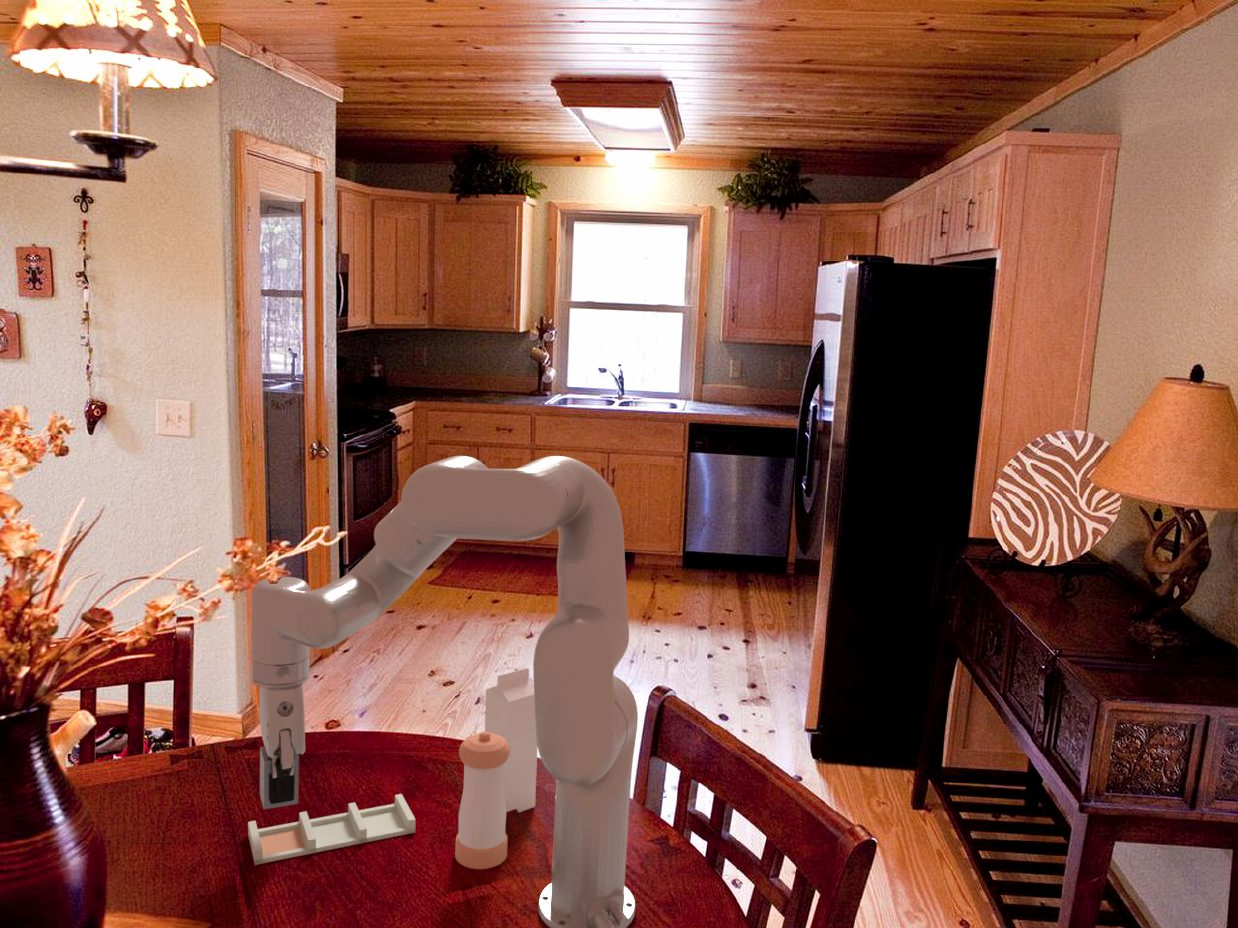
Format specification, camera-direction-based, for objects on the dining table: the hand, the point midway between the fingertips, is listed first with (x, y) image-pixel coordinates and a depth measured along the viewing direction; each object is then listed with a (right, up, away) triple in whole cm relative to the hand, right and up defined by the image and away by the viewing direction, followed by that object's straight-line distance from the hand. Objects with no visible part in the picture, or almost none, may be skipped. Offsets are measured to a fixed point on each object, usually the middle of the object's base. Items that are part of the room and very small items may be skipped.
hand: (279, 790), depth 133 cm
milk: (+30, -8, +17) cm, 35 cm away
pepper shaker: (+28, -10, +1) cm, 30 cm away
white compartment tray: (+6, -9, +4) cm, 11 cm away
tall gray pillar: (0, -1, 0) cm, 1 cm away
